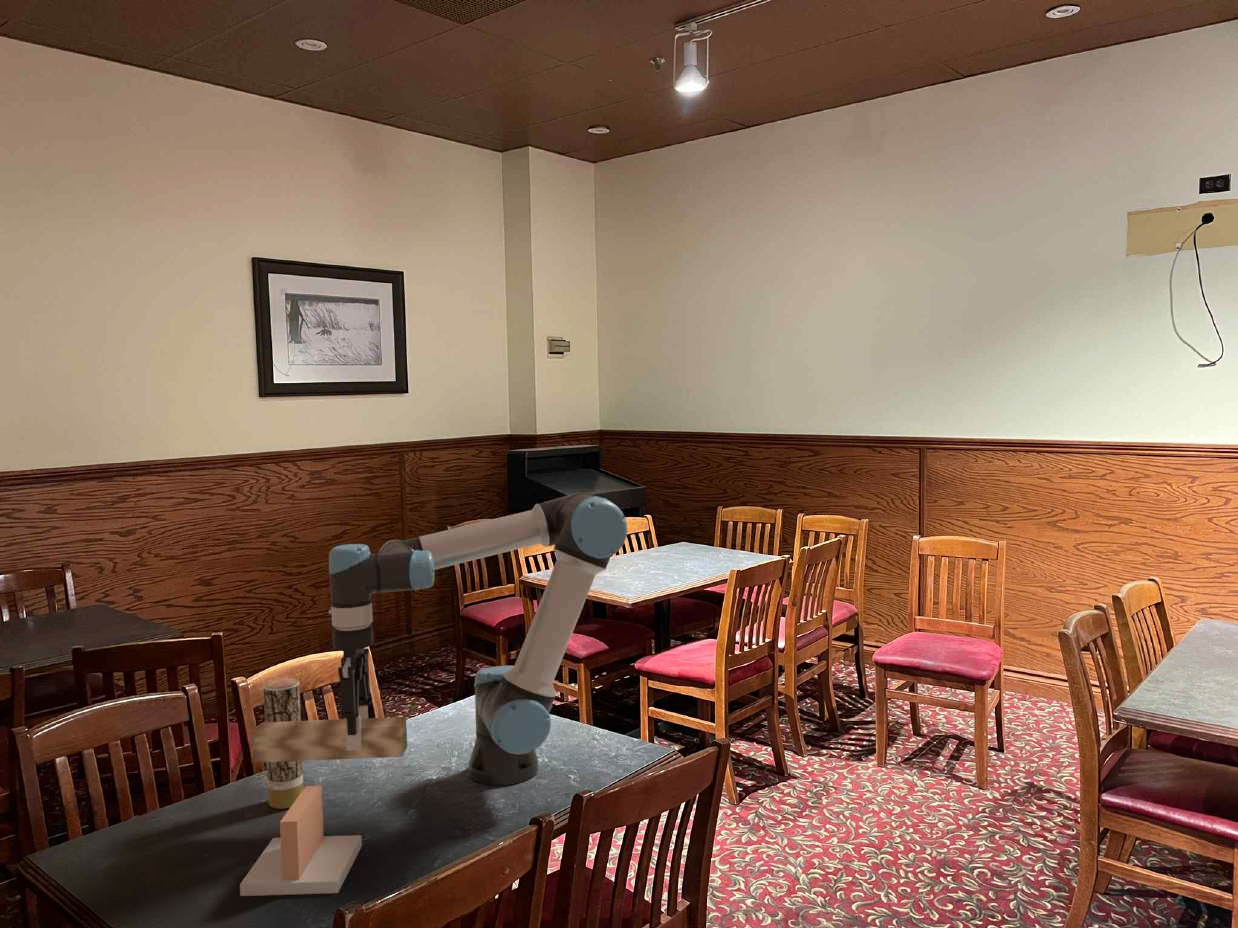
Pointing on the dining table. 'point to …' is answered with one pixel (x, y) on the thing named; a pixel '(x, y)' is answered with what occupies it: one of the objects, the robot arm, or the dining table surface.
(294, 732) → the birch beam
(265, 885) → the balance stand
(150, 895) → the dining table surface
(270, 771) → the bark-covered stump
